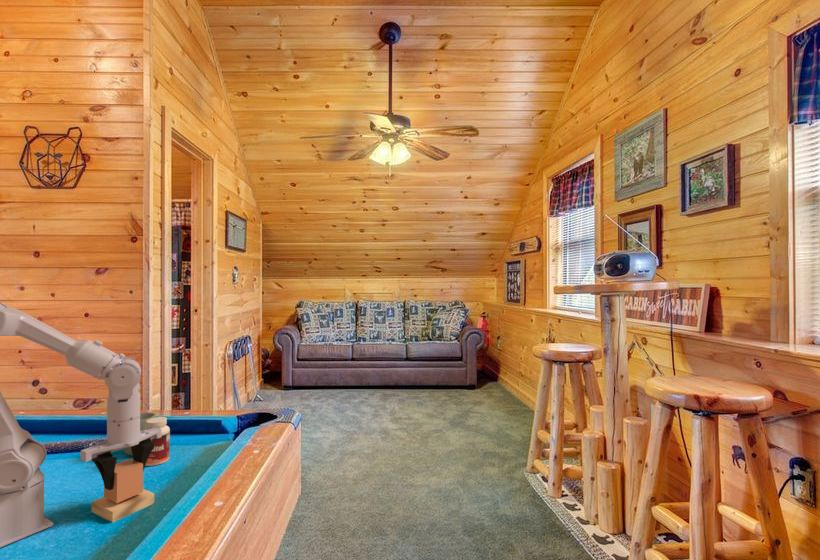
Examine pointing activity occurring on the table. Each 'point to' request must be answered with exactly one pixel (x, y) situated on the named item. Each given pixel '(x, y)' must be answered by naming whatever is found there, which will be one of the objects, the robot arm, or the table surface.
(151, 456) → the pill bottle
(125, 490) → the terracotta block
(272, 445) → the table surface
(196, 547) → the table surface
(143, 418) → the cup
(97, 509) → the maple slab
